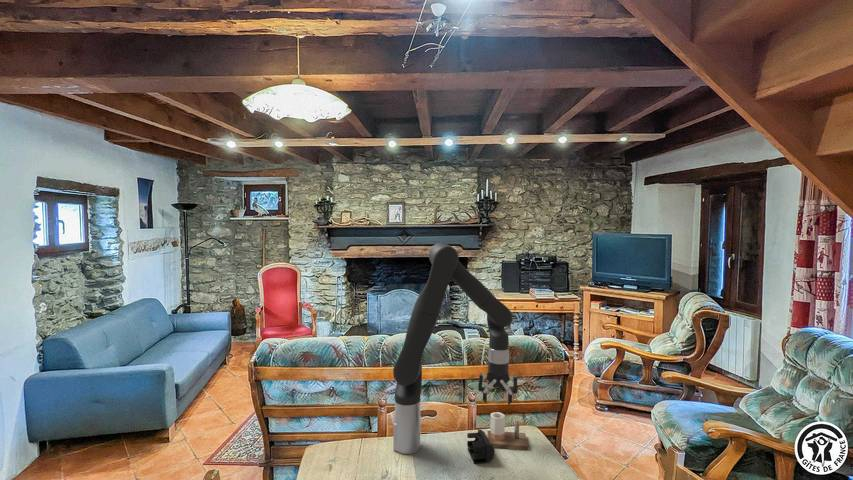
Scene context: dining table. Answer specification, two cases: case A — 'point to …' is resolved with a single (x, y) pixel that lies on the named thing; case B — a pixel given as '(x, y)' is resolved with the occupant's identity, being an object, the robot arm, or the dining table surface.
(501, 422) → the sleeve
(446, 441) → the dining table surface
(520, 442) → the pin board
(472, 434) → the end cap
